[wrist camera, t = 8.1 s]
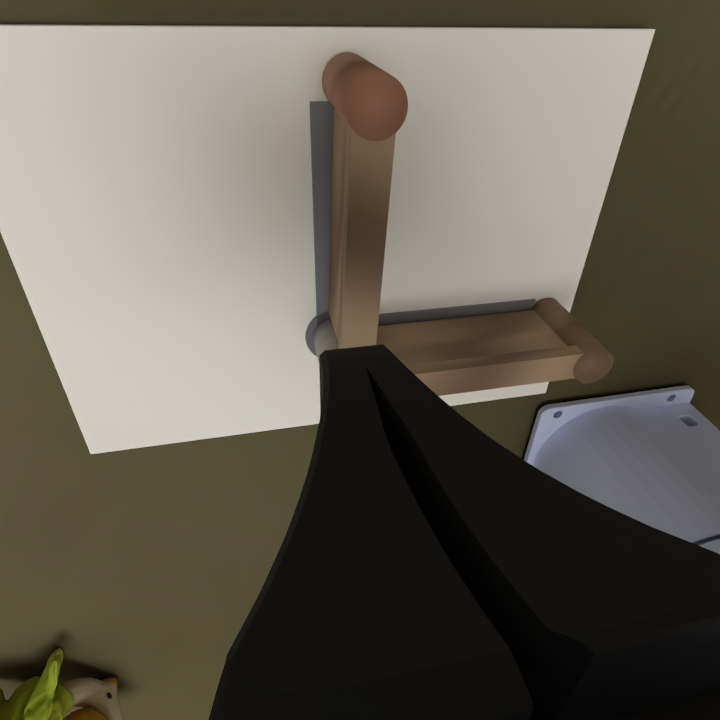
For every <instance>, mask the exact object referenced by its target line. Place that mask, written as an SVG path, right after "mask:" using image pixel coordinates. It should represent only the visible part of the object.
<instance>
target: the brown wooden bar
mask: <svg viewBox="0 0 720 720" xmlns="http://www.w3.org/2000/svg"><path fill="white" fill-rule="evenodd" d="M322 87H323V91H324V94H325V96H326V98H327V99H328V101H329V102H330V103H331V104H332V105H333V107H334V129H333V165H332V202H331V238H330V275H329V311H328V312H329V315H330V318H331V321H332V324H333V327H334V331H335V334H336V337H337V340H338V349H343V348H352V347H362V346H372V345H376V340H377V330H378V319H379V308H380V297H381V287H382V276H383V265H384V254H385V244H386V233H387V222H388V211H389V201H390V190H391V179H392V168H393V158H394V147H395V136H396V132H397V131H398V130H399V129H400V128H401V126H402V125H403V123H404V121H405V118H406V115H407V111H408V99H407V94H406V91H405V89H404V87H403V85H402V84H401V83H400V82H399V80H397V79H396V78H395V77H393V76H392V75H390V74H389V73H387V72H385V71H384V70H382V69H380V68H379V67H377V66H376V65H374V64H372V63H371V62H369V61H367V60H366V59H364V58H363V57H361V56H359V55H358V54H355V53H351V52H344V53H340V54H338V55H336V56H334V57H333V58H332V59H331V60H330V61H329V62H328V63H327V65H326V67H325V69H324V72H323V76H322Z"/></svg>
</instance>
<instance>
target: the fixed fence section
mask: <svg viewBox="0 0 720 720" xmlns="http://www.w3.org/2000/svg"><path fill="white" fill-rule="evenodd" d="M313 342H314V346H315V350H316V354H317V358H318V362H319V355H320V354H321V353H322V352H323V351H324V350H333V349H338V340H337V337H336V334H335V331H334V327H333V324H332V321H331V318H330V317H328V318H326V319H324V320H322V321H321V322H320V323H319V324H318V325H317V326H316V328H315V330H314V332H313ZM381 344H383V345H384V346H386V347H387V348H388V349H389V350H390V351H391V352H392V353H393V354H394V355H395V356H396V357H397V358H398V359H399V360H400V361H401V362H402V363H403V364H404V365H405V366H406V367H407V368H408V369H409V370H411V371H412V372H413V373H414V374H415V375H416V376H417V377H418V378H419V379H420V380H421V381H422V382H423V383H424V384H425V385H426V386H428V387H429V388H430V389H431V390H432V391H433V392H434V393H435V394H436V395H438V396H442V395H450V394H458V393H465V392H473V391H481V390H489V389H496V388H504V387H512V386H519V385H527V384H535V383H542V382H550V381H558V380H565V379H573V378H576V379H577V380H578V381H579V382H581V383H584V384H589V383H593V382H596V381H598V380H600V379H602V378H603V377H604V376H606V375H607V374H608V372H609V371H610V370H611V368H612V366H613V363H614V357H613V355H612V354H611V353H610V352H609V351H608V350H607V349H606V348H605V347H604V346H603V345H602V344H601V343H600V342H599V341H598V340H597V339H596V338H595V337H594V336H593V335H592V334H590V333H589V332H588V331H587V330H586V329H585V328H584V327H583V326H582V325H581V324H580V323H579V322H578V321H577V320H576V319H575V318H574V317H573V316H572V315H571V314H570V313H569V312H568V311H567V310H566V309H565V308H564V307H563V306H562V305H561V304H560V303H559V302H558V301H557V300H556V299H554V298H543V299H540V300H538V301H537V302H535V305H534V306H533V307H532V308H531V310H530V311H520V312H511V313H501V314H491V315H481V316H472V317H462V318H452V319H442V320H432V321H423V322H413V323H403V324H393V325H383V326H378V330H377V340H376V345H381Z"/></svg>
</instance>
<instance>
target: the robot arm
mask: <svg viewBox="0 0 720 720" xmlns="http://www.w3.org/2000/svg"><path fill="white" fill-rule="evenodd" d="M319 371H320V412H321V414H320V421H319V426H318V431H317V436H316V441H315V445H314V450H313V454H312V458H311V462H310V466H309V469H308V473H307V476H306V480H305V483H304V486H303V489H302V492H301V495H300V498H299V501H298V504H297V507H296V509H295V512H294V515H293V518H292V521H291V523H290V526H289V528H288V531H287V533H286V536H285V538H284V541H283V543H282V546H281V548H280V550H279V552H278V554H277V557H276V559H275V561H274V563H273V565H272V568H271V570H270V572H269V574H268V577H267V579H266V581H265V583H264V585H263V588H262V590H261V592H260V594H259V596H258V598H257V600H256V602H255V603H254V605H253V607H252V609H251V611H250V613H249V615H248V617H247V618H246V620H245V622H244V624H243V626H242V628H241V630H240V632H239V633H238V635H237V637H236V639H235V641H234V643H233V645H232V647H231V648H230V650H229V652H228V654H227V657H226V662H225V665H224V669H223V672H222V675H221V679H220V682H219V685H218V688H217V692H216V695H215V699H214V702H213V706H212V710H211V713H210V717H209V720H720V430H719V429H717V428H716V427H715V426H714V425H713V424H712V423H711V422H710V421H709V420H708V419H707V418H705V417H704V416H703V415H702V414H701V413H700V412H699V411H698V410H697V409H696V408H695V407H694V406H692V405H691V404H690V401H691V399H692V397H693V395H694V390H693V389H692V388H691V387H690V386H689V385H685V386H677V387H670V388H663V389H656V390H649V391H642V392H634V393H627V394H620V395H613V396H606V397H598V398H591V399H584V400H577V401H570V402H563V403H555V404H548V405H545V406H543V407H541V408H540V409H539V411H538V414H537V417H536V420H535V424H534V427H533V430H532V434H531V437H530V440H529V444H528V447H527V450H526V454H525V457H524V460H523V459H521V458H520V457H518V456H517V455H515V454H514V453H512V452H510V451H509V450H507V449H506V448H504V447H503V446H501V445H500V444H498V443H497V442H495V441H494V440H493V439H491V438H490V437H488V436H487V435H486V434H484V433H483V432H482V431H480V430H479V429H478V428H476V427H475V426H474V425H473V424H471V423H470V422H469V421H467V420H466V419H465V418H463V417H462V416H461V415H460V414H459V413H457V412H456V411H455V410H454V409H452V408H451V407H450V406H449V405H448V404H447V403H446V402H444V401H443V400H442V399H441V398H440V397H439V396H438V395H436V394H435V393H434V392H433V391H432V390H431V389H430V388H429V387H428V386H426V385H425V384H424V383H423V382H422V381H421V380H420V379H419V378H418V377H417V376H416V375H415V374H414V373H413V372H412V371H411V370H409V369H408V368H407V367H406V366H405V365H404V364H403V363H402V362H401V361H400V360H399V359H398V358H397V357H396V356H395V355H394V354H393V353H392V352H391V351H390V350H389V349H388V348H387V347H386V346H384V345H383V344H381V345H372V346H362V347H352V348H343V349H333V350H324V351H323V352H322V353H321V354H320V355H319Z"/></svg>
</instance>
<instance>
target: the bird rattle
mask: <svg viewBox="0 0 720 720" xmlns="http://www.w3.org/2000/svg"><path fill="white" fill-rule="evenodd" d="M62 661H63V650H62V649H61V648H57V649H56V650H55V651H54V652H53V653H52V654H51V655H50V657H49V658H48V661H47V665H46V667H45V669H44V671H43V673H42V675H41V677H40V676H35V677H32V678H30V679H28V680H26V681H25V682H24V683H23V684H21V685H20V686H19V687H18V688H17V689H16V690H15V691H14V693H13V694H12V696H11V697H10V699H9V700H5V698H4V694H3V691H2V689H1V688H0V720H124V716H123V712H122V708H121V705H120V703H119V700H118V697H117V680H116V678H113V677H109V678H105V679H102V680H98V679H95V678H86V677H85V678H76V679H72V680H69V681H66V682H63V683H61V684H59V685H57V682H58V676H59V672H60V668H61V664H62ZM73 706H78V707H83V708H82V709H79V710H76V711H74V712H72V713H70V714H69V715H68V716H67V717H65V716H66V714H67V712H68V711H69V710H70V708H71V707H73Z"/></svg>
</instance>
